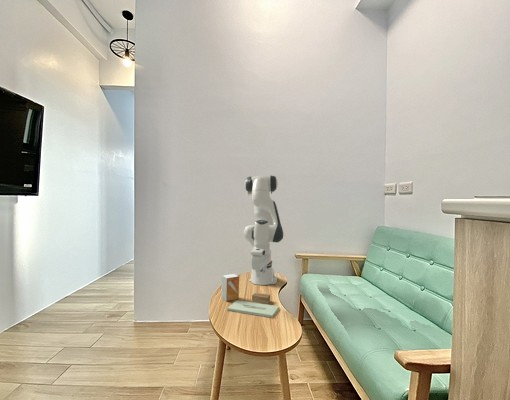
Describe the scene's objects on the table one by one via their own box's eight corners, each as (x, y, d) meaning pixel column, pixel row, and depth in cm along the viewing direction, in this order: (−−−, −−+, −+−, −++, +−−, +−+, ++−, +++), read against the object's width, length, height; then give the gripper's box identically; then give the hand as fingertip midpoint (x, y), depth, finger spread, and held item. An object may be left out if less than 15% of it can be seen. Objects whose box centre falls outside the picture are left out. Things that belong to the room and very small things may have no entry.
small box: (226, 301, 162) (226, 278, 162) (221, 298, 168) (221, 275, 167) (239, 298, 167) (239, 276, 167) (233, 295, 172) (233, 273, 172)
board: (236, 302, 161) (236, 299, 161) (279, 308, 153) (279, 306, 153) (227, 310, 150) (227, 307, 150) (272, 317, 142) (272, 315, 142)
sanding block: (254, 299, 167) (254, 292, 166) (270, 301, 164) (270, 294, 164) (252, 302, 162) (252, 295, 162) (267, 304, 159) (267, 297, 159)
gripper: (262, 246, 173) (262, 270, 173) (249, 252, 154) (249, 278, 154) (272, 247, 171) (272, 271, 171) (260, 253, 152) (260, 280, 152)
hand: (261, 274), depth 162 cm, fingers open, 8 cm apart
